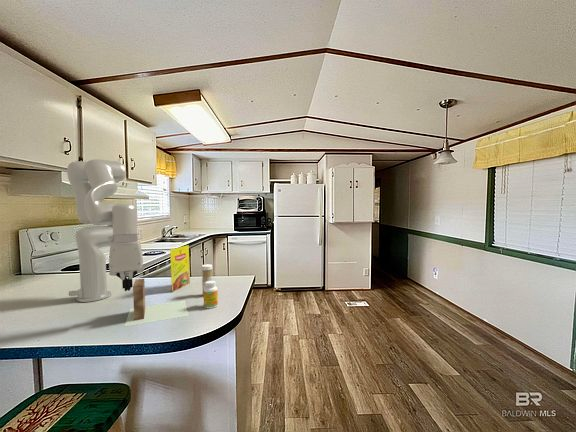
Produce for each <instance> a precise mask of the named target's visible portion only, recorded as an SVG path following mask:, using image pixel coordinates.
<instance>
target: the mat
mask: <svg viewBox="0 0 576 432" xmlns="http://www.w3.org/2000/svg"><path fill="white" fill-rule="evenodd" d="M183 317H189V311H188V308H187V304H186V300H185V299H184V300H179V301H178V300H177V301H170V302H164V303H158V304H151V305H145V316H144V319H141V320H135V321H134V307H132V308H129V312H128V315H127V317H126V321H125V324H124V327H131V326H136V325H137V326H138V325H141V324H148V323H154V322H159V321H164V320H170V319H171V320H172V319H176V318H177V319H178V318H183Z"/></svg>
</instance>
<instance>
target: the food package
mask: <svg viewBox="0 0 576 432" xmlns="http://www.w3.org/2000/svg"><path fill="white" fill-rule="evenodd" d="M189 249H190V245H189V244H186V245H183V246H179V247H175V248H171V249H169V250H170V276H171V277H170V279H171V280H170V281H171V282H170V283H171V293H174V292H176V291H178V290H179V289H181V288H184V287H185V286H188V285H189V284H191V280H190V279H191V278H190V277H191V276H190V273H191V271H190V250H189ZM175 290H176V291H175ZM173 291H174V292H173Z"/></svg>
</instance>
